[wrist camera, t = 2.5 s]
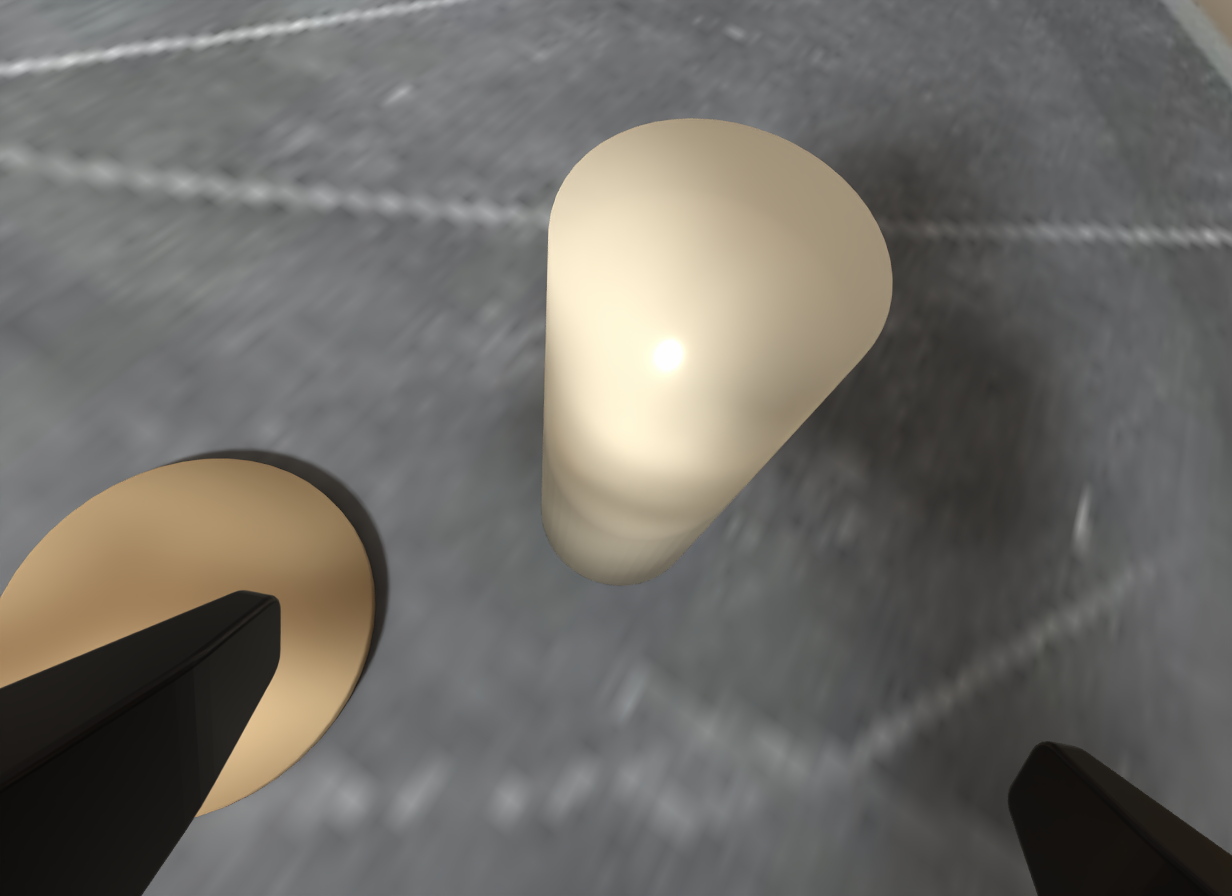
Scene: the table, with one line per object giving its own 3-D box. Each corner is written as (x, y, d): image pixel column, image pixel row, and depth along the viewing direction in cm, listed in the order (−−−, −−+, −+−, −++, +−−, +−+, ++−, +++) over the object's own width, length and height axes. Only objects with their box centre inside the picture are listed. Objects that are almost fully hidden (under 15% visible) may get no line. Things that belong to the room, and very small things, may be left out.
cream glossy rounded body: (719, 552, 21) (957, 340, 9) (574, 610, 20) (631, 451, 8) (657, 419, 23) (790, 95, 11) (519, 465, 21) (499, 153, 10)
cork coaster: (415, 727, 18) (411, 727, 17) (9, 897, 15) (-10, 904, 15) (332, 426, 21) (327, 418, 21) (-15, 527, 19) (-32, 522, 18)
